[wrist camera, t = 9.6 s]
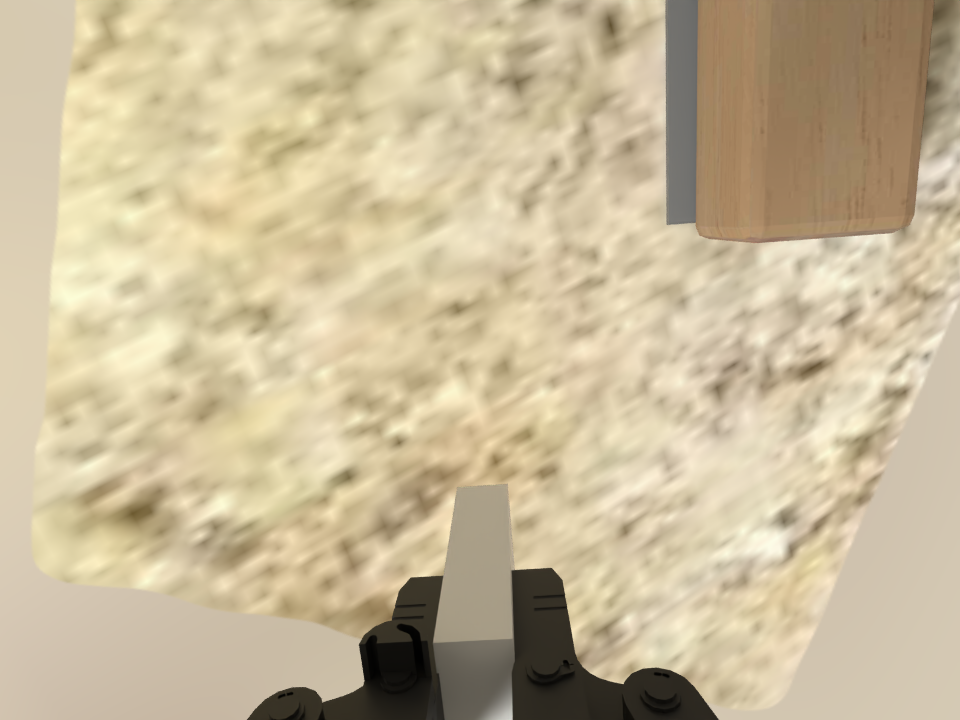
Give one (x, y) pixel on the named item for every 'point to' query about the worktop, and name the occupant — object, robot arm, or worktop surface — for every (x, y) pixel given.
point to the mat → (681, 109)
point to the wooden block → (809, 117)
